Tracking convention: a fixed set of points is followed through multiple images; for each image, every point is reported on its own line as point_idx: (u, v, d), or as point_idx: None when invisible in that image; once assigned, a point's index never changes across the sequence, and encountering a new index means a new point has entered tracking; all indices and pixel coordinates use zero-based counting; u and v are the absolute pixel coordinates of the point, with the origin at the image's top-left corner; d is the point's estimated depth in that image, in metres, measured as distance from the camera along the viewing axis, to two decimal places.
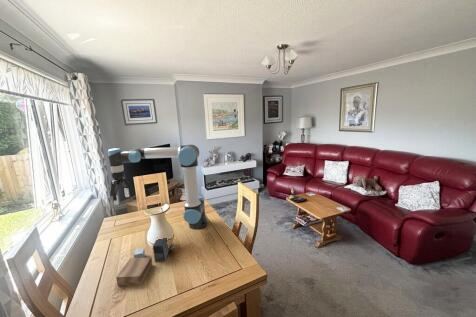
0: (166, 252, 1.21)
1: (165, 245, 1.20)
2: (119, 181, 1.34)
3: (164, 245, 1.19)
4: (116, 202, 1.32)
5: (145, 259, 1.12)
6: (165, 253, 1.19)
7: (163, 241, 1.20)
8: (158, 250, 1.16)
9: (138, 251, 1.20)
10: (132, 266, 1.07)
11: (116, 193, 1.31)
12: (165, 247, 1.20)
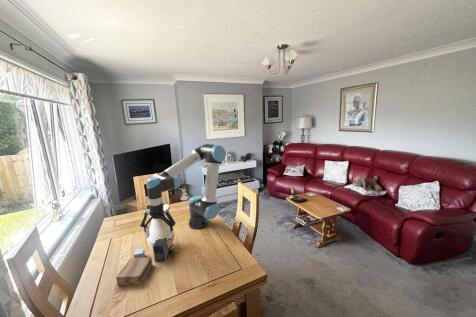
0: (166, 252, 1.21)
1: (165, 245, 1.20)
2: (152, 215, 1.16)
3: (164, 245, 1.19)
4: None
5: (145, 259, 1.12)
6: (165, 253, 1.19)
7: (163, 241, 1.20)
8: (158, 250, 1.16)
9: (138, 251, 1.20)
10: (132, 266, 1.07)
11: (145, 226, 1.17)
12: (165, 247, 1.20)
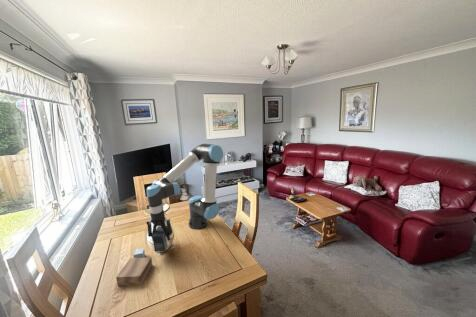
0: None
1: (165, 235, 1.19)
2: (154, 223, 1.17)
3: (164, 236, 1.18)
4: None
5: (145, 259, 1.12)
6: (165, 243, 1.19)
7: (163, 231, 1.19)
8: (158, 240, 1.16)
9: (138, 251, 1.20)
10: (132, 266, 1.07)
11: None
12: (164, 237, 1.19)
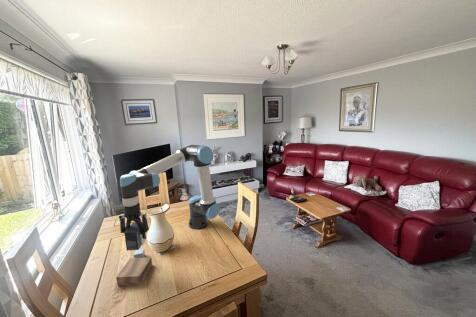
0: None
1: (139, 232, 1.04)
2: (127, 217, 1.03)
3: (138, 232, 1.04)
4: None
5: (145, 259, 1.12)
6: (139, 241, 1.04)
7: (137, 227, 1.04)
8: (130, 237, 1.01)
9: (138, 251, 1.20)
10: (132, 266, 1.07)
11: None
12: (139, 234, 1.04)
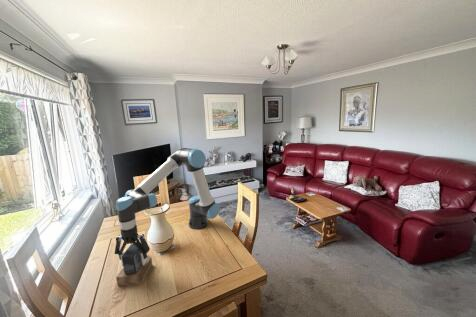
0: (138, 263, 1.05)
1: (137, 255, 1.04)
2: (124, 240, 1.02)
3: (136, 256, 1.03)
4: None
5: None
6: (137, 264, 1.04)
7: (135, 250, 1.04)
8: (128, 261, 1.01)
9: None
10: None
11: (120, 252, 1.04)
12: (137, 257, 1.04)
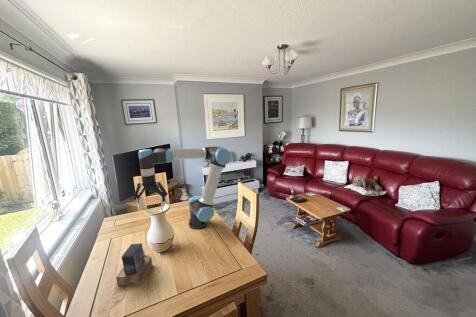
0: (138, 263, 1.05)
1: (137, 255, 1.04)
2: (144, 185, 1.21)
3: (136, 256, 1.03)
4: None
5: (145, 259, 1.12)
6: (137, 264, 1.04)
7: (135, 250, 1.04)
8: (128, 261, 1.01)
9: None
10: None
11: (138, 196, 1.22)
12: (137, 257, 1.04)
